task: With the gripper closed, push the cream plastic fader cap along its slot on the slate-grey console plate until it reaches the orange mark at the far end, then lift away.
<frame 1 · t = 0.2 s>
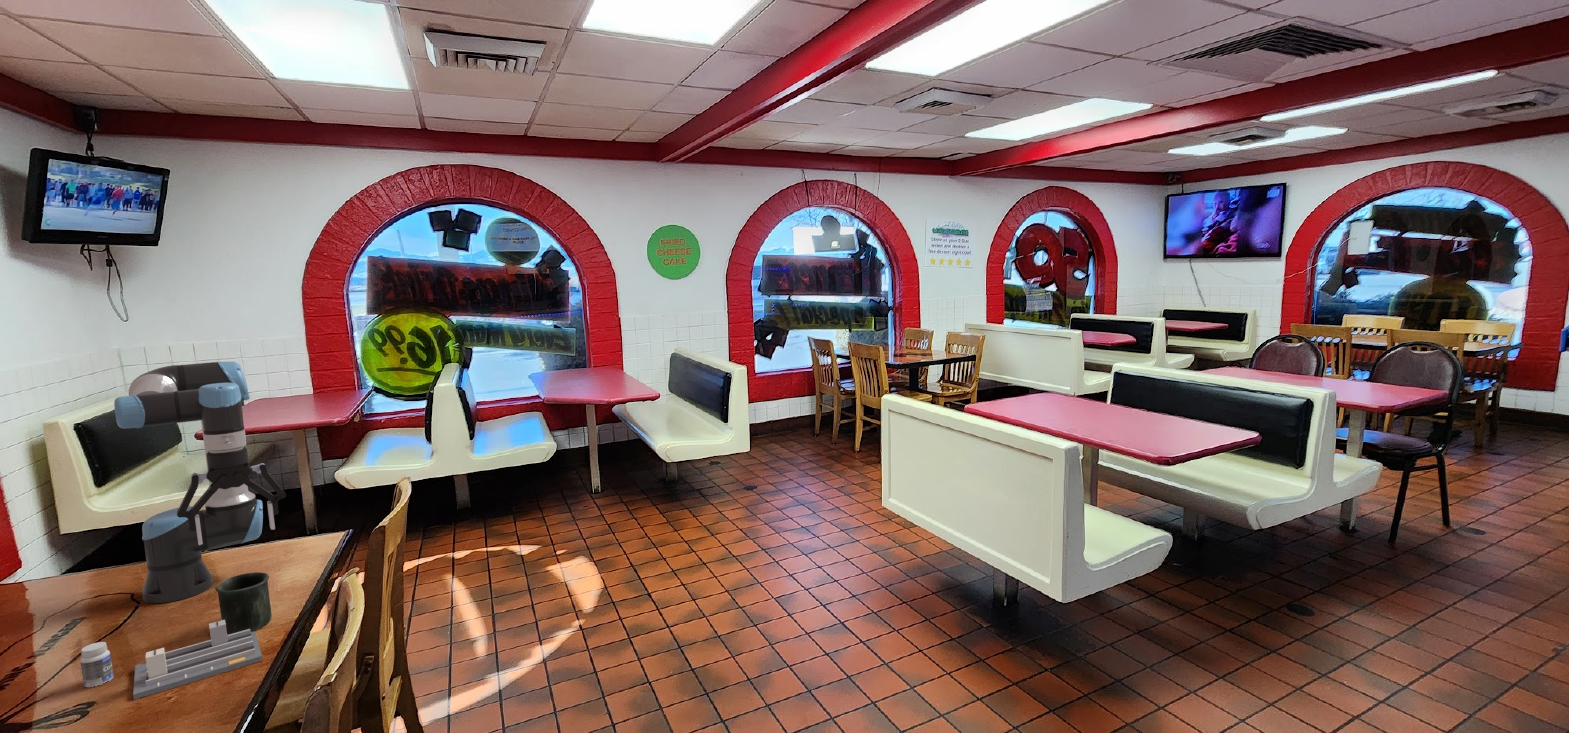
hand: (237, 535, 165), 28 cm above the table, fingers open, 13 cm apart
console: (199, 665, 159), on the table
mug: (247, 623, 179), on the table
fader cap: (156, 664, 152), point 4 cm above the table, slide at 0.0 cm
pill bottle: (99, 682, 153), on the table
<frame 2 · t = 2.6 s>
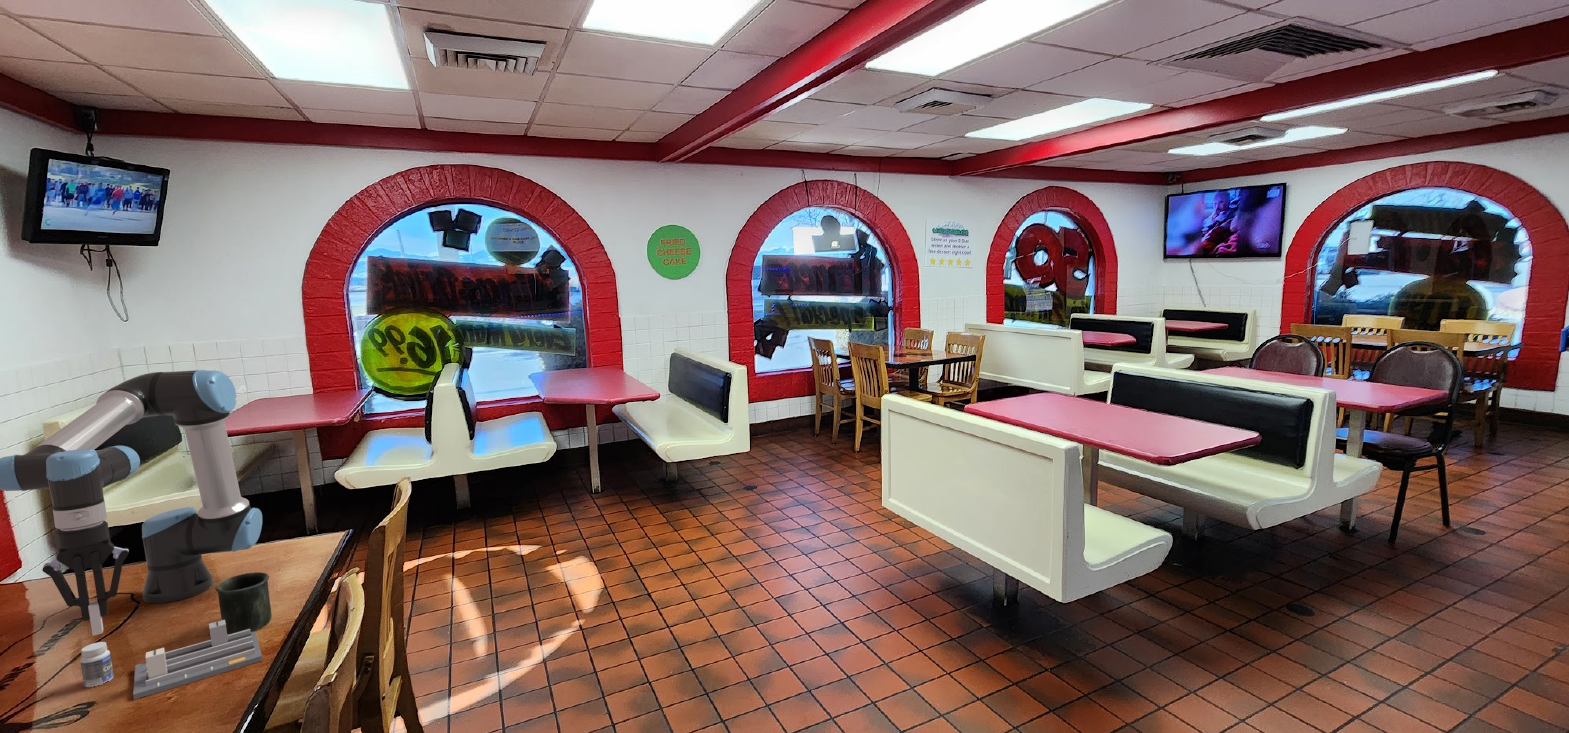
hand: (98, 632, 145), 15 cm above the table, fingers closed
nothing on the table moved.
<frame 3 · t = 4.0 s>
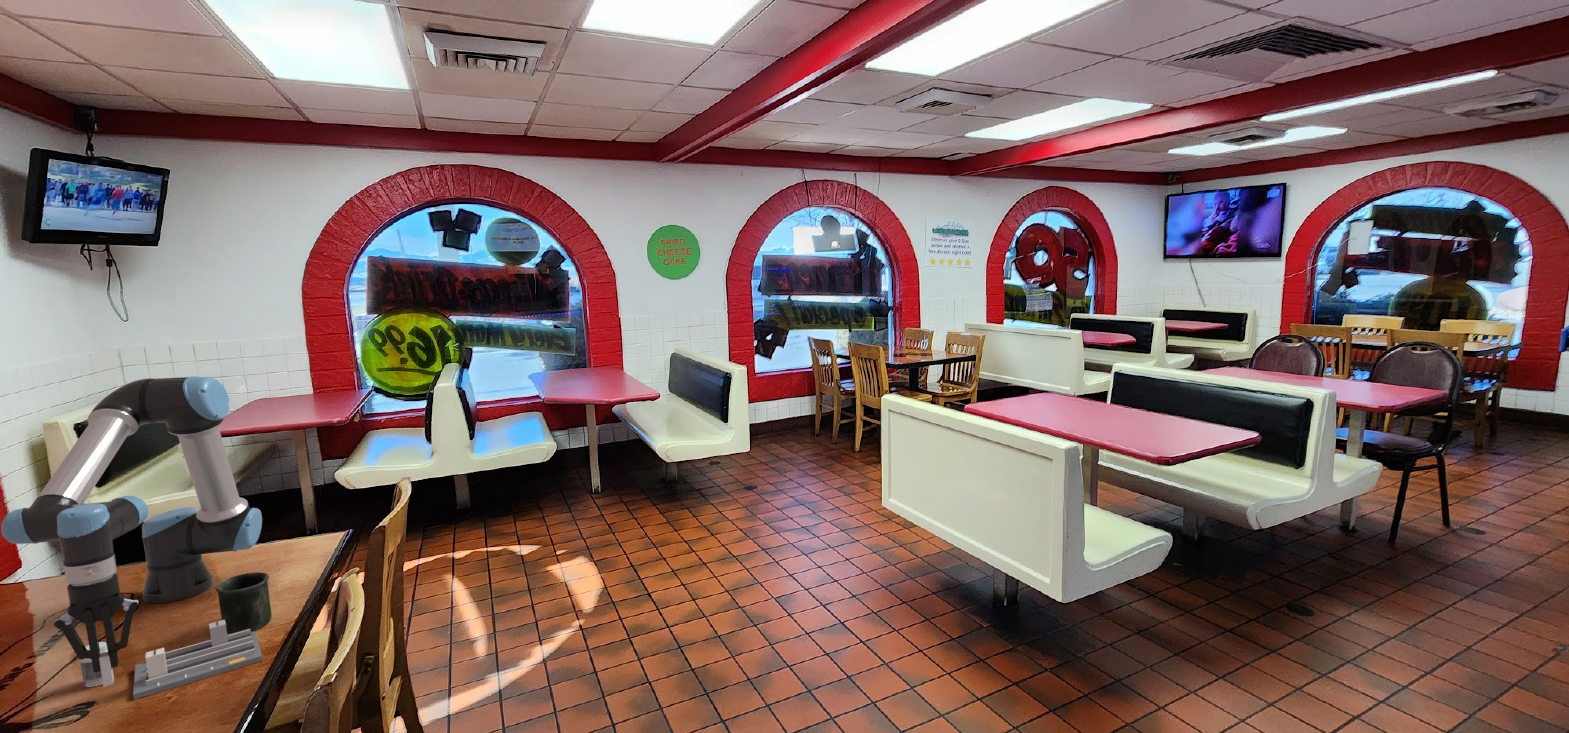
hand: (108, 682, 147), 3 cm above the table, fingers closed
nothing on the table moved.
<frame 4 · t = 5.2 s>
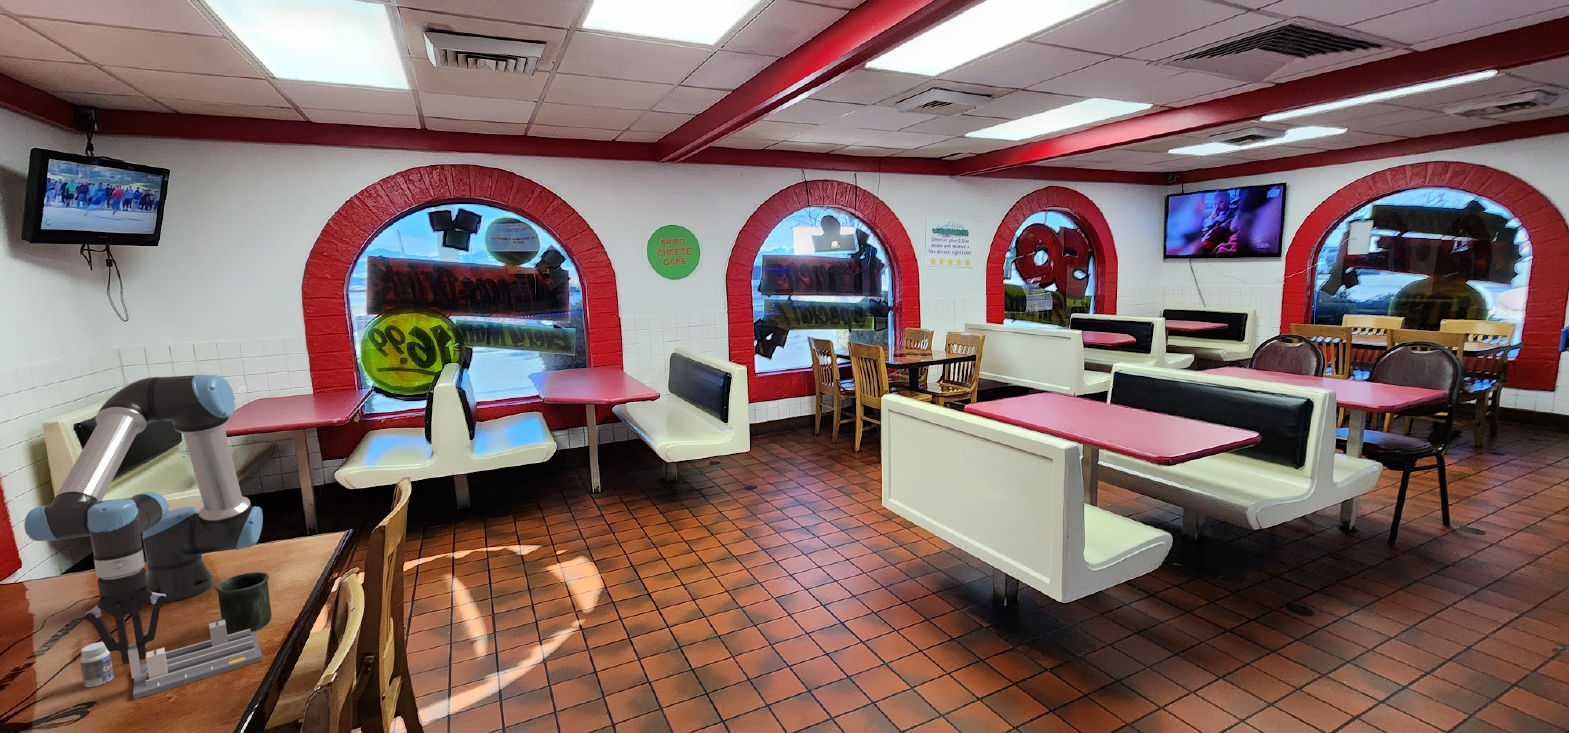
hand: (136, 674, 150), 3 cm above the table, fingers closed
fader cap: (157, 664, 152), point 4 cm above the table, slide at 0.1 cm, touching gripper
everything else where it was.
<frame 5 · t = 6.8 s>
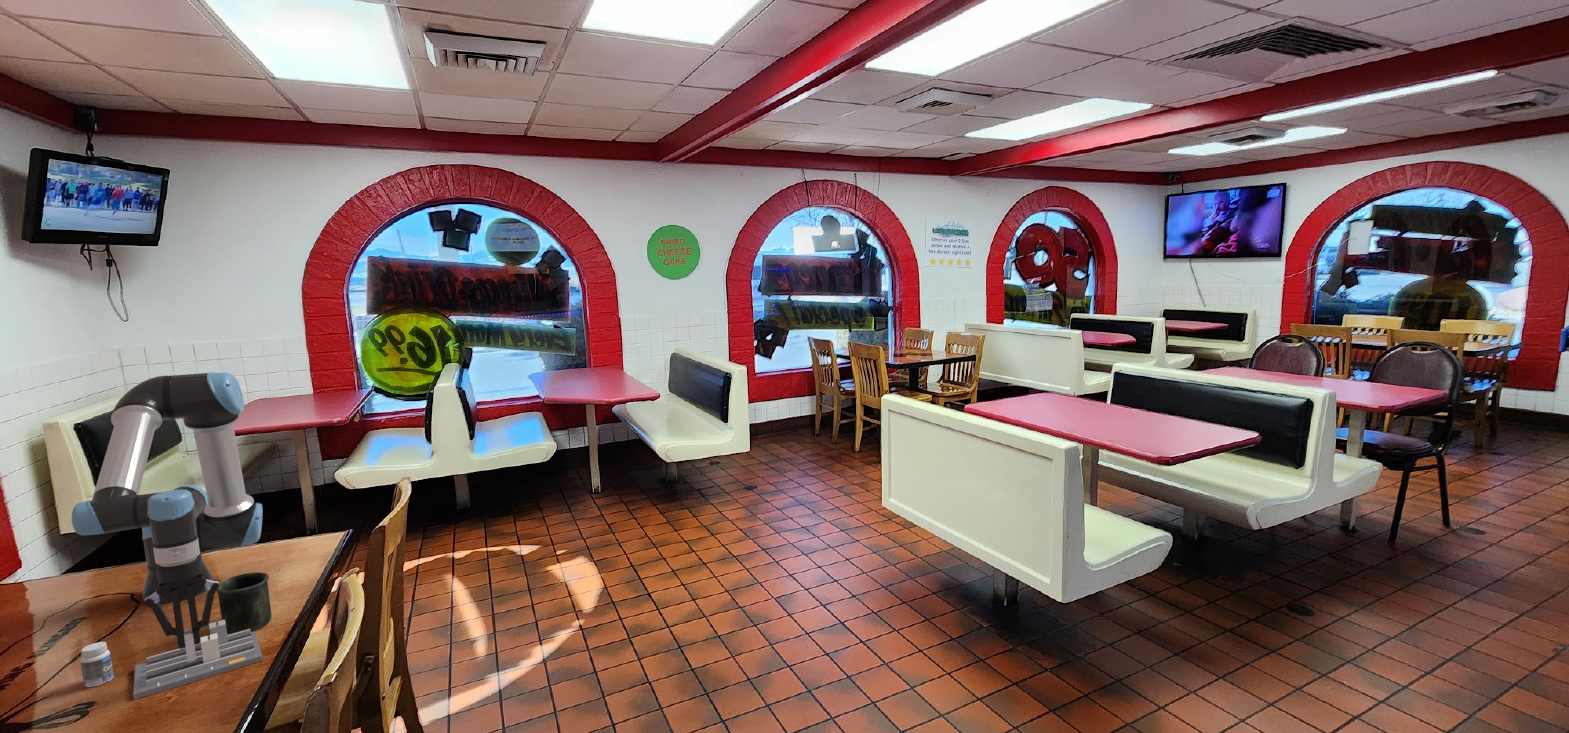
hand: (191, 658, 156), 3 cm above the table, fingers closed
fader cap: (210, 648, 158), point 4 cm above the table, slide at 9.2 cm, touching gripper
everything else where it was.
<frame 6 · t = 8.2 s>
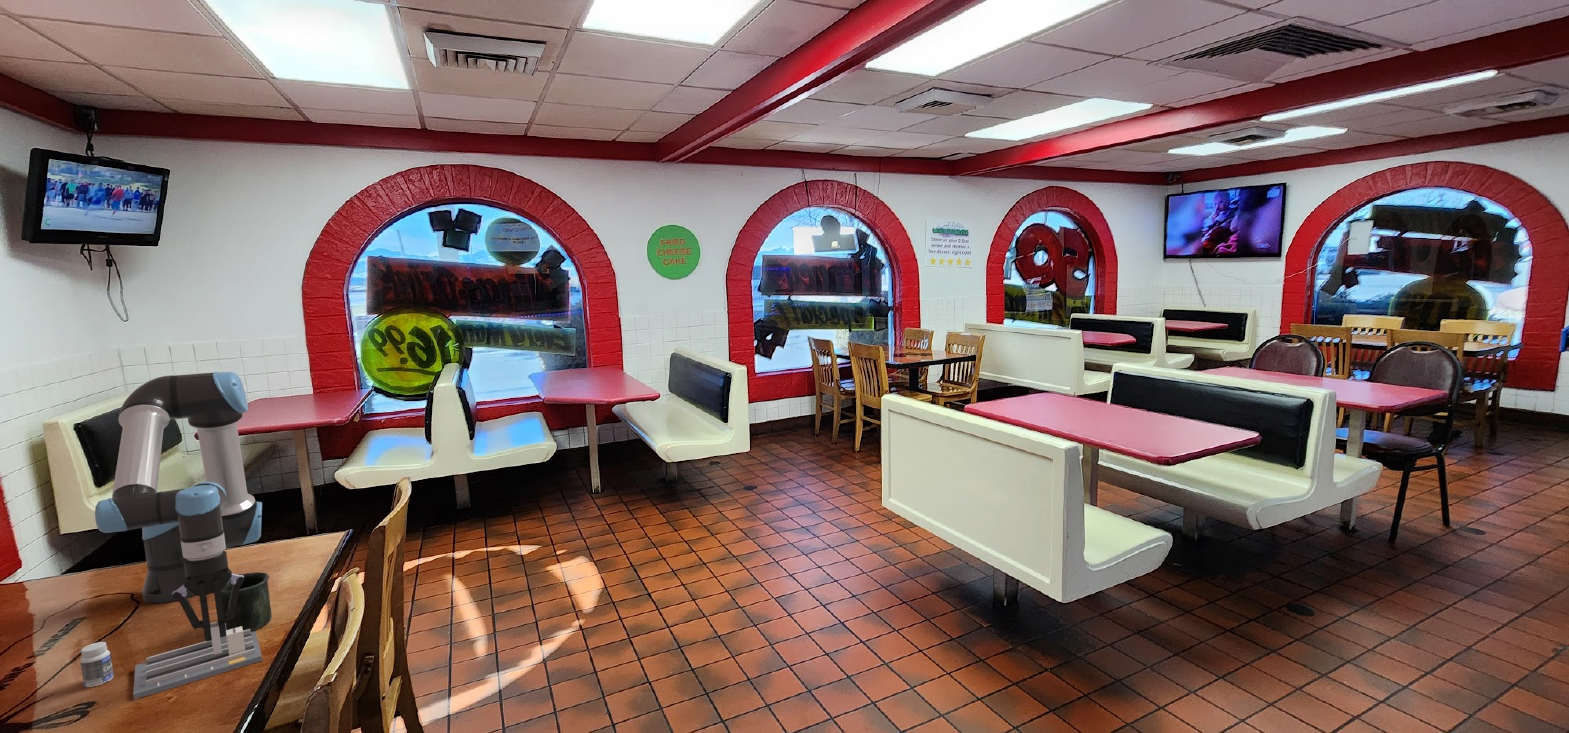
hand: (217, 651, 159), 3 cm above the table, fingers closed
fader cap: (235, 641, 162), point 4 cm above the table, slide at 13.8 cm, touching gripper
everything else where it was.
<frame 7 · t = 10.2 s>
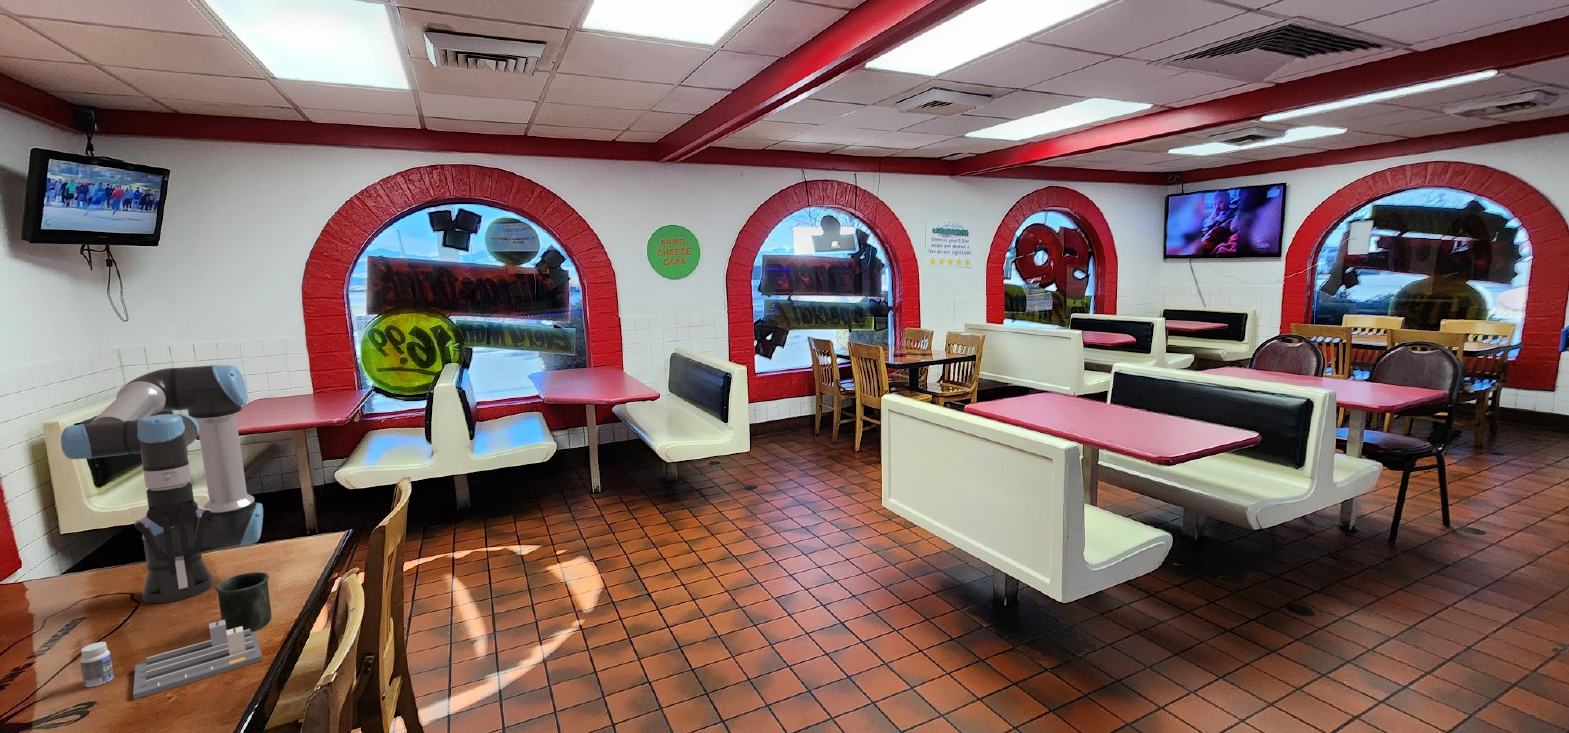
hand: (183, 586, 155), 20 cm above the table, fingers closed
fader cap: (236, 641, 162), point 4 cm above the table, slide at 13.9 cm
everything else where it was.
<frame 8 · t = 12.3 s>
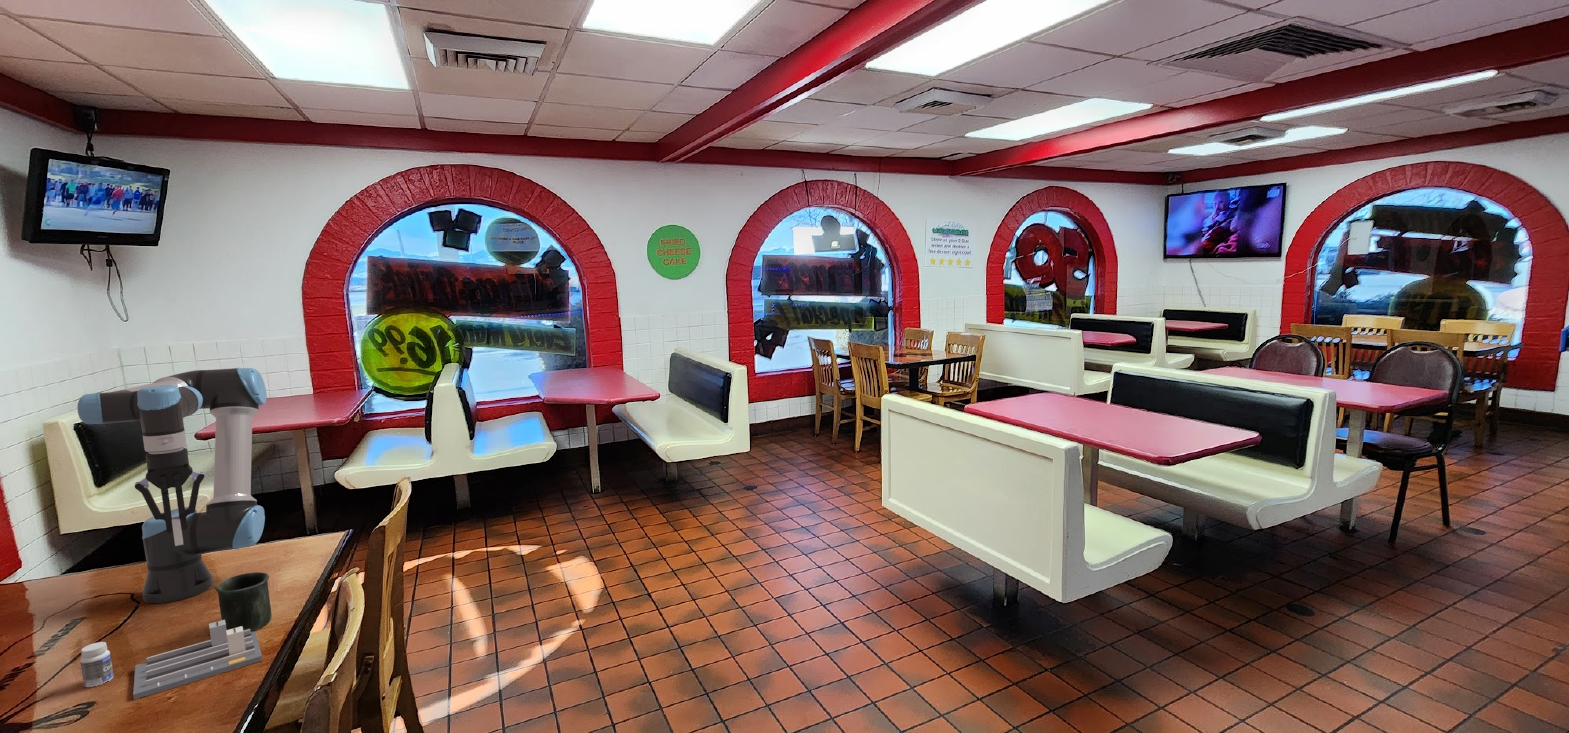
hand: (179, 543, 169), 24 cm above the table, fingers closed
nothing on the table moved.
at the end: fader cap slide at 13.9 cm; fader cap touching nothing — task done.
